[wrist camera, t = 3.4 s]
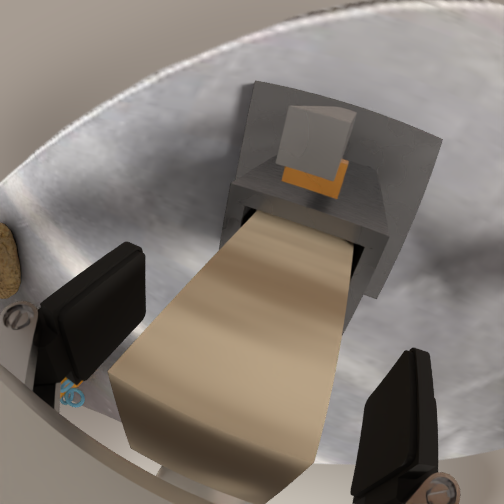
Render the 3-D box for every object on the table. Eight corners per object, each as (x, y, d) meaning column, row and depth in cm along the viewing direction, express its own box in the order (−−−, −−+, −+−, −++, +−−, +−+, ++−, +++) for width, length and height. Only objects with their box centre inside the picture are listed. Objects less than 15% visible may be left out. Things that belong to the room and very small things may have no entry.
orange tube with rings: (82, 382, 59) (44, 425, 46) (54, 347, 56) (11, 388, 44) (107, 383, 53) (64, 435, 41) (75, 342, 50) (24, 392, 38)
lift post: (342, 228, 23) (263, 507, 6) (291, 211, 24) (129, 447, 7) (359, 178, 21) (317, 462, 4) (305, 160, 22) (105, 368, 5)
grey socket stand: (376, 289, 26) (359, 487, 11) (229, 237, 29) (97, 380, 14) (437, 137, 19) (586, 226, 4) (261, 81, 22) (68, 66, 6)
